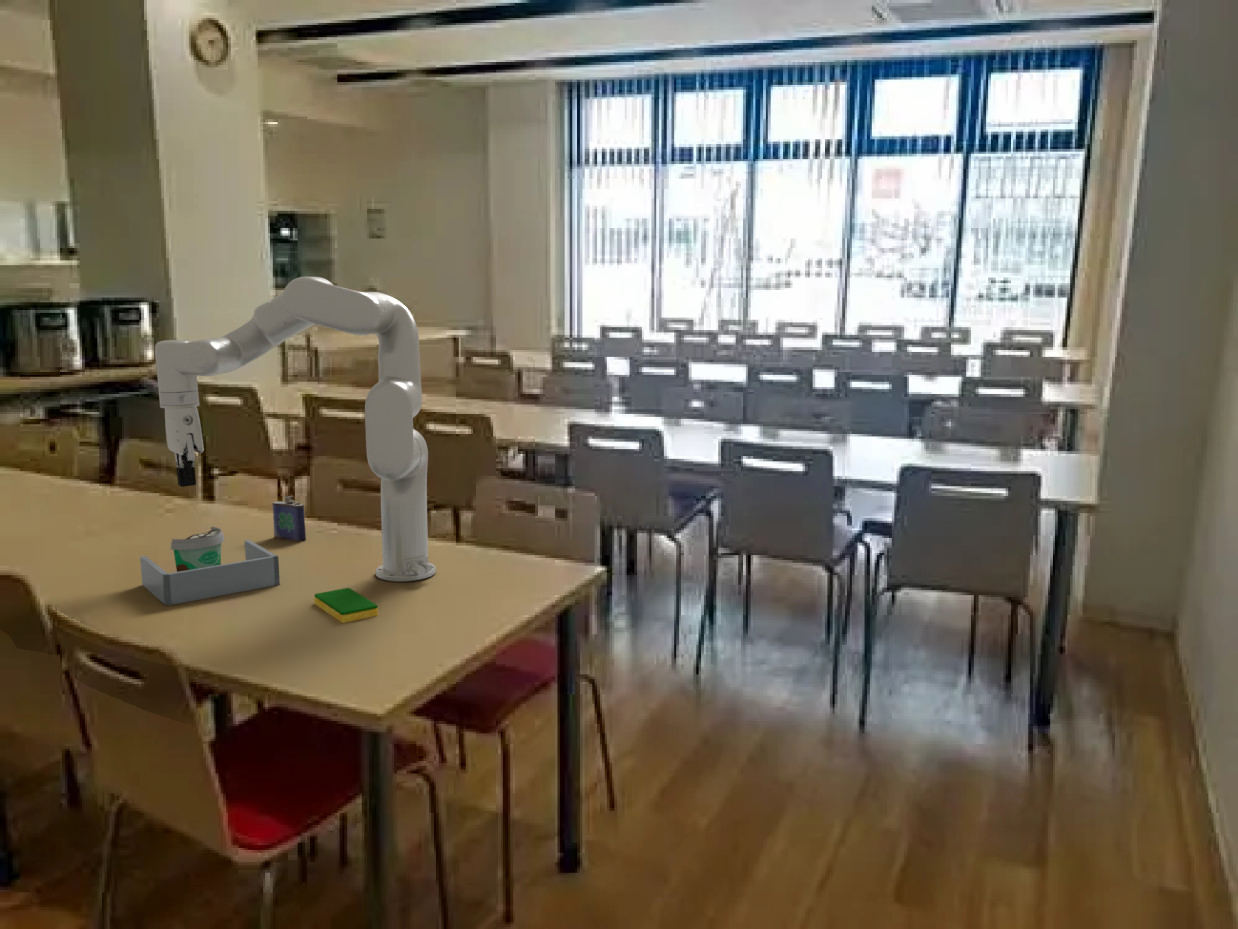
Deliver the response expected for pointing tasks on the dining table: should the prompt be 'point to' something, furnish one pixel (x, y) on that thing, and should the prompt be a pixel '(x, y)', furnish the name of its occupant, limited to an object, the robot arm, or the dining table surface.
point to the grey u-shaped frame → (212, 577)
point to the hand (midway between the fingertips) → (187, 485)
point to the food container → (198, 550)
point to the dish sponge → (346, 605)
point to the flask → (289, 520)
